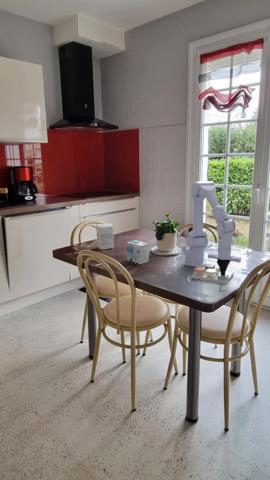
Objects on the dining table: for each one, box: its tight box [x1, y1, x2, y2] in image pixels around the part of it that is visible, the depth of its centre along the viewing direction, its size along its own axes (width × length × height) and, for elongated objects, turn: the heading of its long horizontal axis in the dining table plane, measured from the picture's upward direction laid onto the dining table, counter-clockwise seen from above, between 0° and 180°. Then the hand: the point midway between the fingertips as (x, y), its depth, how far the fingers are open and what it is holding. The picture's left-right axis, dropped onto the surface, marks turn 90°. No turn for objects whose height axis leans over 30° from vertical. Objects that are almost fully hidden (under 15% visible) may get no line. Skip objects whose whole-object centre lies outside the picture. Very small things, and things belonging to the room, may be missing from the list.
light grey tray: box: [191, 266, 235, 285], centre depth 155 cm, size 16×13×2 cm
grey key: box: [203, 263, 216, 270], centre depth 159 cm, size 4×4×2 cm
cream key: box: [206, 268, 217, 275], centre depth 152 cm, size 4×4×2 cm
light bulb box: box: [126, 239, 150, 265], centre depth 178 cm, size 11×7×11 cm, turn 45°
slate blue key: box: [217, 273, 229, 280], centre depth 150 cm, size 4×4×2 cm
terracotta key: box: [193, 266, 206, 274], centre depth 155 cm, size 4×4×2 cm
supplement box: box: [96, 222, 115, 249], centre depth 204 cm, size 9×9×15 cm
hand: (223, 275), depth 150 cm, fingers closed, pressing on slate blue key
